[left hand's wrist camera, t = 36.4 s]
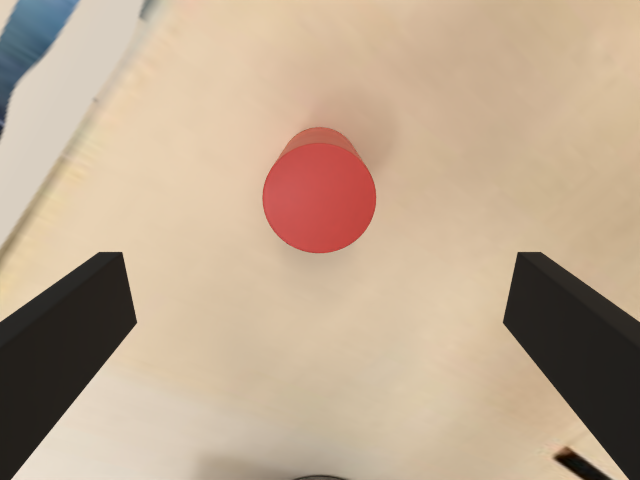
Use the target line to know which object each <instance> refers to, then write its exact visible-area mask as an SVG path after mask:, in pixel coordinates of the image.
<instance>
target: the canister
mask: <svg viewBox="0 0 640 480" xmlns="http://www.w3.org/2000/svg"><path fill="white" fill-rule="evenodd" d="M375 206H376V190H375V185H374V182H373V179H372V176H371V174H370V172H369V171H368V169H367V167H366V166H365V164H364V163H363V161H362V160H361V158H360V156H359V155H358V153H357V152H356V150H355V149H354V147H353V146H352V144H351V143H350V142H349V140H348V139H347V138H346V137H344V136H343V135H342V134H340V133H339V132H337V131H335V130H332V129H329V128H322V127H316V128H310V129H307V130H304V131H302V132H300V133H299V134H297V135H296V136H295V137H293V138H292V139H291V141H290V142H289V143H288V144H287V146H286V147H285V149H284V150H283V152H282V153H281V155H280V156H279V158H278V159H277V161H276V162H275V164H274V165H273V167H272V168H271V170H270V172H269V174H268V176H267V178H266V181H265V184H264V189H263V207H264V212H265V215H266V218H267V220H268V222H269V224H270V226H271V227H272V229H273V230H274V232H275V233H276V234H277V235H278V236H279V237H280V238H281V239H282V240H283V241H285V242H286V243H287V244H289V245H291V246H293V247H295V248H297V249H299V250H302V251H306V252H311V253H327V252H333V251H337V250H339V249H342V248H344V247H346V246H348V245H350V244H351V243H353V242H354V241H356V240H357V239H358V238H359V237H360V236H361V235H362V234H363V233H364V231H365V230H366V229H367V227H368V226H369V224H370V222H371V220H372V217H373V214H374V211H375Z"/></svg>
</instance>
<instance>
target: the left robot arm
mask: <svg viewBox="0 0 640 480" xmlns="http://www.w3.org/2000/svg"><path fill="white" fill-rule="evenodd" d="M136 324H137V320H136V315H135V310H134V306H133V301H132V296H131V291H130V287H129V282H128V277H127V273H126V268H125V263H124V258H123V254H122V252H99V253H97V254H96V255H94V256H93V257H92V258H90V259H89V260H87V261H86V262H84V263H83V264H82V265H80V266H79V267H77V268H76V269H75V270H73V271H72V272H70V273H69V274H68V275H66V276H65V277H63V278H62V279H60V280H59V281H58V282H56V283H55V284H53V285H52V286H51V287H49V288H48V289H46V290H45V291H44V292H42V293H41V294H39V295H38V296H37V297H35V298H34V299H32V300H31V301H29V302H28V303H27V304H25V305H24V306H22V307H21V308H20V309H18V310H17V311H15V312H14V313H13V314H11V315H10V316H8V317H7V318H5V319H4V320H3V321H1V322H0V480H11V479H12V478H13V476H14V475H15V474H16V473H17V471H18V470H19V469H20V468H21V466H22V465H23V464H24V463H25V461H26V460H27V459H28V458H29V457H30V455H31V454H32V453H33V452H34V450H35V449H36V448H37V447H38V445H39V444H40V443H41V442H42V440H43V439H44V438H45V437H46V435H47V434H48V433H49V432H50V430H51V429H52V428H53V427H54V425H55V424H56V423H57V422H58V420H59V419H60V418H61V417H62V416H63V414H64V413H65V412H66V411H67V409H68V408H69V407H70V406H71V404H72V403H73V402H74V401H75V399H76V398H77V397H78V396H79V394H80V393H81V392H82V391H83V389H84V388H85V387H86V386H87V384H88V383H89V382H90V381H91V379H92V378H93V377H94V376H95V374H96V373H97V372H98V371H99V370H100V368H101V367H102V366H103V365H104V363H105V362H106V361H107V360H108V358H109V357H110V356H111V355H112V353H113V352H114V351H115V350H116V348H117V347H118V346H119V345H120V343H121V342H122V341H123V340H124V338H125V337H126V336H127V335H128V333H129V332H130V331H131V330H132V329H133V327H134V326H135V325H136ZM503 324H504V325H505V326H506V327H507V329H508V330H509V331H510V332H511V333H512V335H513V336H514V337H515V338H516V340H517V341H518V342H519V343H520V345H521V346H522V347H523V348H524V350H525V351H526V352H527V353H528V355H529V356H530V357H531V358H532V360H533V361H534V362H535V363H536V365H537V366H538V367H539V368H540V370H541V371H542V372H543V373H544V374H545V376H546V377H547V378H548V379H549V381H550V382H551V383H552V384H553V386H554V387H555V388H556V389H557V391H558V392H559V393H560V394H561V396H562V397H563V398H564V399H565V401H566V402H567V403H568V404H569V406H570V407H571V408H572V409H573V411H574V412H575V413H576V414H577V416H578V417H579V418H580V419H581V420H582V422H583V423H584V424H585V425H586V427H587V428H588V429H589V430H590V432H591V433H592V434H593V435H594V437H595V438H596V439H597V440H598V442H599V443H600V444H601V445H602V447H603V448H604V449H605V450H606V452H607V453H608V454H609V455H610V457H611V458H612V459H613V460H614V461H615V463H616V464H617V465H618V466H619V468H620V469H621V470H622V471H623V473H624V474H625V475H626V476H627V478H628V479H629V480H640V322H639V321H637V320H636V319H635V318H633V317H632V316H630V315H629V314H627V313H626V312H625V311H623V310H622V309H620V308H619V307H618V306H616V305H615V304H613V303H612V302H611V301H609V300H608V299H606V298H605V297H603V296H602V295H601V294H599V293H598V292H596V291H595V290H594V289H592V288H591V287H589V286H588V285H587V284H585V283H584V282H582V281H581V280H580V279H578V278H577V277H575V276H574V275H572V274H571V273H570V272H568V271H567V270H565V269H564V268H563V267H561V266H560V265H558V264H557V263H556V262H554V261H553V260H551V259H550V258H548V257H547V256H546V255H544V254H543V253H541V252H518V254H517V258H516V263H515V268H514V273H513V277H512V282H511V287H510V291H509V296H508V301H507V306H506V310H505V315H504V320H503ZM298 480H341V479H337V478H332V477H308V478H302V479H298Z"/></svg>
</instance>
